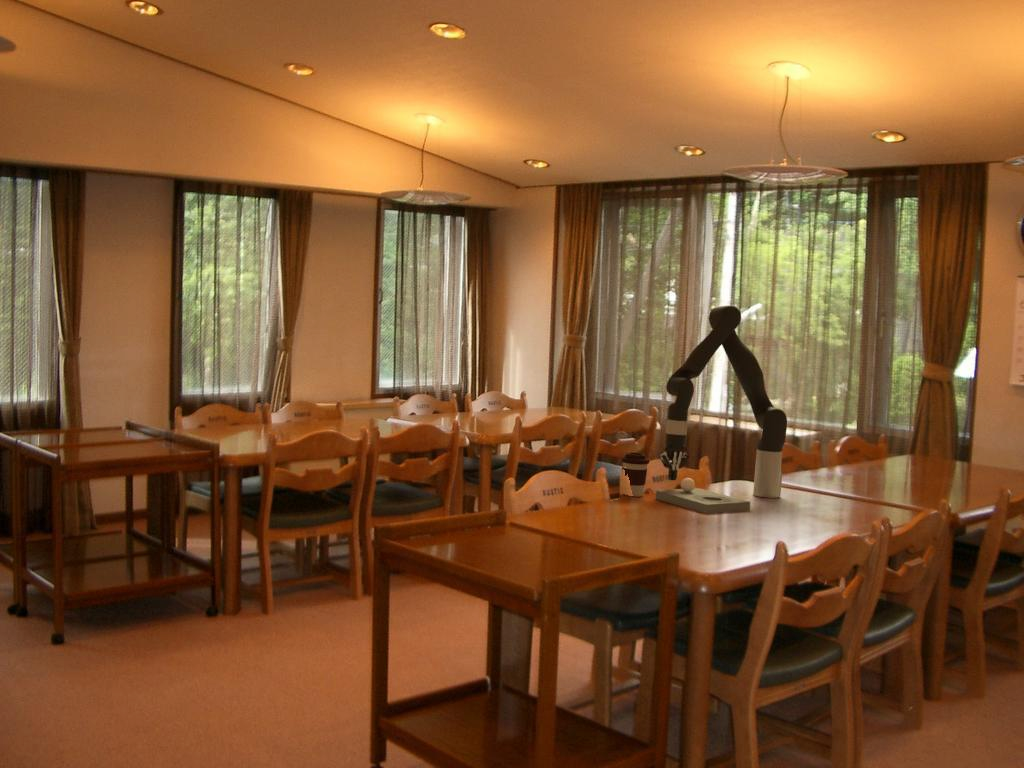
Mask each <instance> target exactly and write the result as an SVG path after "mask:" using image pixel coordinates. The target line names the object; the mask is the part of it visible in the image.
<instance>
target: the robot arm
mask: <svg viewBox="0 0 1024 768" xmlns="http://www.w3.org/2000/svg"><path fill="white" fill-rule="evenodd" d="M708 321H709V326H710V328H711V331H710V332H709V333H708V335H707V336H705V338H704V339H702V341H700V342H699V343H698V344H697V345H696V346H695V347H694V349H693V350H692V351H691V352H690V354H689V356H688V357H687V358H686V360H685V361H684V362H683V364H682V365H681V366H680V367H679V368H678V369H677V370H676V371H675V372H674V373H673V374H671V375H670V377H669V378H668V380H667V382H666V385H665V386H666V391H667V393H668V394H669V395H670V396H672V397H676V398H675V401H674V402H673V403H672V402H671V403H670V404H669V406H668V411H667V419H666V420H667V421H666V426H665V436H664V445H665V448H664V451H663V453H662V454H661V453H659V454H658V458H659V459H660V461H661V463H662V465H663V467H664V468H665V469H668V481H676V480H677V478H678V470H679V469H682V468H683V467H684V465H686V463H687V461H688V460H689V458H690V454H687V452H686V449H685V447H686V446H687V438H688V437H687V436H688V435H687V433H688V413H689V408H690V405H691V403H692V399H693V397H694V393H695V391H694V390H695V387H694V383H693V381H692V379H696V378H699V376H700V375H701V374H702V373H703V371H704V369H705V368H706V367H707V365H708V363H709V362H710V361H711V359H712V358H713V356H714V355H715V354H716V352H717V351H718V349H719V348H720V347H721V346H722V348H723V350H724V352H725V354H726V357H727V358H728V360H729V362H730V365H731V367H732V370H733V372H734V374H735V376H736V378H737V381H738V382H739V384H740V386H741V388H742V390H743V392H744V394H745V396H746V397H747V399H748V402H749V404H750V407H751V410H752V413H753V416H754V419H755V422H756V425H757V426H758V427H759V428H760V429H761V430H762V432H761V438H760V440H758V441H757V443H756V444H757V445H756V455H755V468H754V479H753V480H754V482H753V492H752V495H753V496H755V497H760V498H766V499H767V498H769V499H777V498H780V497H781V495H782V482H783V481H782V480H783V471H782V469H781V467H782V458H783V448H784V445H785V444H786V443H785V442H786V435H787V429H788V428H787V427H788V418H787V414H786V413H785V412H784V410H782V409H780V408H777V407H775V406H774V405H773V403H772V402H771V400H770V397H769V396H768V394H767V391H766V385H765V378H764V373H763V370H762V368H761V366H760V363H759V362H758V359H757V357H756V356H755V354H754V353H753V352H752V350H750V348H748V346H747V345H746V344H745V343H743V341H742V340H741V338H740V337H739V336H738V334H737V331H736V329H737V328H738V327H739V325H740V324H741V321H742V314H741V310H739V307H737V306H735V305H722V306H716V307H713V308H712V309H711V311H710V312H709V313H708Z"/></svg>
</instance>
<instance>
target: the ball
mask: <svg viewBox="0 0 1024 768" xmlns="http://www.w3.org/2000/svg"><path fill="white" fill-rule="evenodd" d="M694 488H696V483H695V481H694V480H693V478H691V477H685V478H684V479H682V480H681V482H680V489H682V490H684V491H685V492H691V491H692V490H693V489H694Z"/></svg>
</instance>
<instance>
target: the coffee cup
mask: <svg viewBox="0 0 1024 768" xmlns="http://www.w3.org/2000/svg"><path fill="white" fill-rule="evenodd" d="M620 459H621V460H620V461H621V462H622V467H621V468H622V469H621V471H622V470H623V469H624V470H625V476H626V475H627V474H628V477H629V480H630V487H631V490H632V494H633V496H635V498H640V497H642V496H644V491H645V485H646V482H647V473H648V465H649V464H650V459H649V458H648V457H647V456H646V454H645V453H642V452H626V453H625V455H624V456H621V458H620ZM624 467H626V468H624Z"/></svg>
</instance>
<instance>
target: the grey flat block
mask: <svg viewBox="0 0 1024 768" xmlns="http://www.w3.org/2000/svg"><path fill="white" fill-rule="evenodd" d="M655 491H656V492H655V500H658V501H662V502H666V503H668V504H671V505H675V506H679V507H683V508H685V509H686V508H687V509H689V510H693V511H696V512H700V513H703V514H716V513H717V514H719V513H730V512H731V513H732V512H734V513H735V512H747V511H750V509H751V501H748V500H745V499H742V498H737V497H735V496H734V497H733V496H730V495H726V494H724V493H723V494H722V493H719V492H715V491H711V490H707V489H703V488H700V487H698V488H697V487H695V488H694V489H693V490H692V491H691V492H685V491H684V490H682V488H680V489H679V488H678V489H677V488H676V489H658V490H655Z"/></svg>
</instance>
